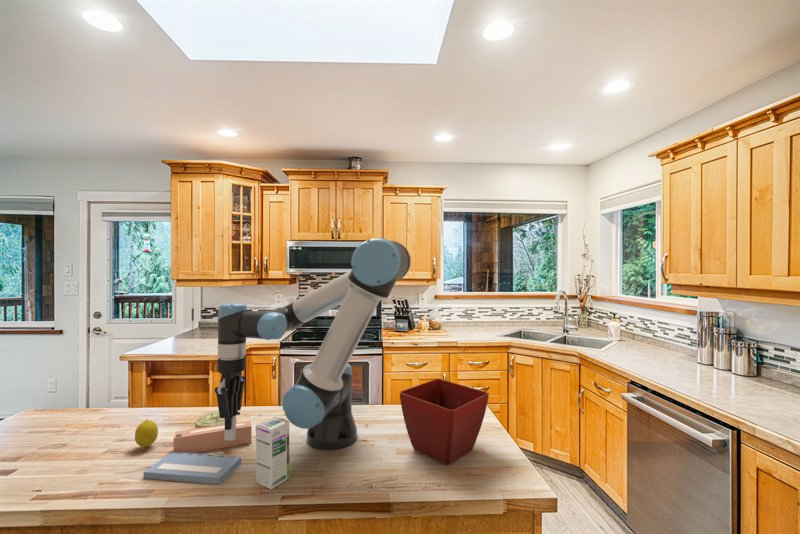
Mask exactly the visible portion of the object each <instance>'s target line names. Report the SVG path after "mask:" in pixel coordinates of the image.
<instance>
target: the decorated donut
mask: <svg viewBox="0 0 800 534" xmlns="http://www.w3.org/2000/svg"><path fill="white" fill-rule="evenodd" d="M223 424H225V419H224V418H220V416H219V411H217V412H211V413H206V414H204V415H201V416H199V417H198V418H196V420H195V422H194V429H196V428H203V427H209V426H216V425H223Z"/></svg>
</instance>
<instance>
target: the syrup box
mask: <svg viewBox="0 0 800 534" xmlns="http://www.w3.org/2000/svg"><path fill="white" fill-rule="evenodd" d="M255 478H256V479H255V481H256V483H257V484H258V485H260V484H261V486H262V485H263V486H262V487H264V486H265V488H266V487H267V489H268V488H269V490H271V489H272V490H273V489H274V488H276V487H277V486H279V485H280V484H282V483H284V482H285V481H288V480H289V479H290V421H289V420H288V419H287V420H286V419H284V418H282V417H276V416H274V417H272V418H269V419H267V420H264V421H262V422H260V423H257V424H256V425H255Z"/></svg>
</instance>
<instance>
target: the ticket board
mask: <svg viewBox="0 0 800 534" xmlns="http://www.w3.org/2000/svg"><path fill="white" fill-rule="evenodd" d="M241 463H242V456H235V455H222V454H221V455H220V454H208V453H207V454H205V453H180V452H173V451H172V452H170V453H168V454H167V455H166V456H164V457H162V458H161V459H160V460H158V461H157V462H156V463H154V464H152V465H151V466H150V467H149V468H147V469H146V470H145V471H143V479H150V480H151V479H152V480H164V481H173V482H174V481H176V482H177V481H178V482H187V483H189V482H190V483H200V484H201V483H202V484H212V485H220V484H221V483H223V482H224V480H226V479H227V477H229V476H230V474H232V472H233V471H234V470H236V469H237V468H238V467H239V465H241Z"/></svg>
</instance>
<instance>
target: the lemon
mask: <svg viewBox="0 0 800 534" xmlns="http://www.w3.org/2000/svg"><path fill="white" fill-rule="evenodd" d="M158 435H159V428H158V425H157V423H156V422H154V421H152V420H149V419H145V420H144V421H142V422H141V423H139V424H138V425H137V426H136V429H135V432H134V440H135V441H134V442H135V443H136V444H137V445H138V446H140V447H143V448H144V449H148V447H150V446H151V445H152V444H154V443H155V441H157V438H158Z"/></svg>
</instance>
